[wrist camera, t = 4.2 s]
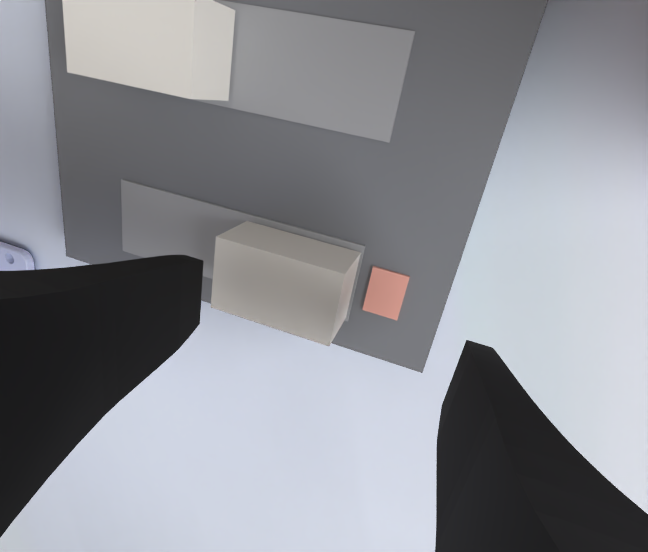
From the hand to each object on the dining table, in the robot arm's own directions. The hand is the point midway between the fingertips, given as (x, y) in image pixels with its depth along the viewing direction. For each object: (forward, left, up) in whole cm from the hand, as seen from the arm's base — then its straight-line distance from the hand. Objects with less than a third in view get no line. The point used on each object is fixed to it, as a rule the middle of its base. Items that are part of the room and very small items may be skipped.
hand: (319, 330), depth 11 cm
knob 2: (-2, 0, -3) cm, 4 cm away
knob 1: (-7, +6, -3) cm, 10 cm away
